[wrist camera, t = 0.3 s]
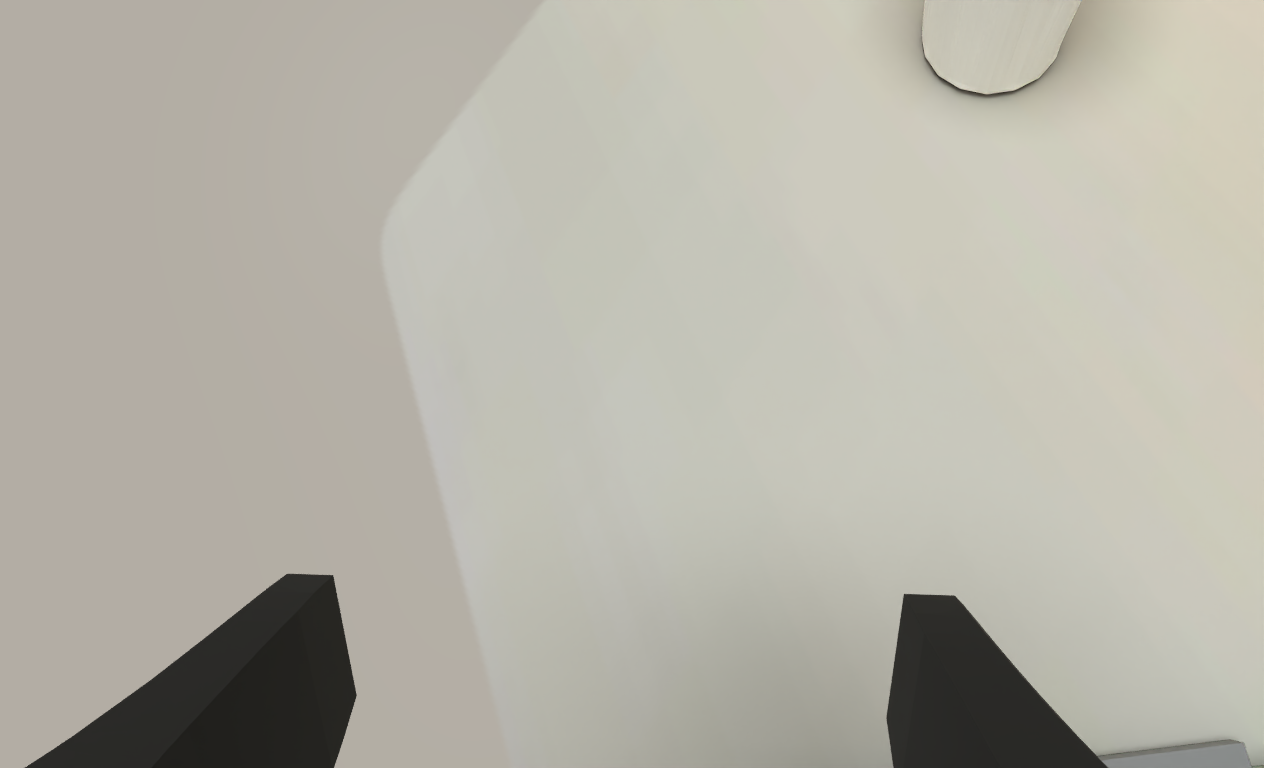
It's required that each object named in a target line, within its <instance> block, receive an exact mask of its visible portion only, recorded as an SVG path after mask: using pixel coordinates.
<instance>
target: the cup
mask: <svg viewBox="0 0 1264 768" xmlns="http://www.w3.org/2000/svg"><path fill="white" fill-rule="evenodd" d="M1081 1H1082V0H925V3H924V14H923V25H922V42H923V47H924V53H925V57H926V58H927V60H928V61H929V63H930V64H931V66H932V67H933V69H934V70H935V72H936V73H937V74H938V76H940V77H941V78H943V79H945V80H946V81H948V82H950V83H951V84H953V85H955V86H956V87H958V88H960V89H964V90H969V91H973V92H978V93H983V94H992V93H999V92H1006V91H1013V90H1016V89H1018V88H1020V87H1022V86H1024V85H1026V84H1028V83H1030V82H1032V81H1034V80H1036V79H1038V78H1039V77H1040V76H1041V75H1042V74H1043V73H1044V72H1045V71H1046V70H1047V68H1048V67H1049V66H1050V65H1051V64H1052V63H1053V61H1054V60H1055V59H1056V57H1057V54H1058V51H1059V48H1060V45H1061V43H1062V41H1063V39H1064V36H1065V34H1066V32H1067V30H1068V28H1069V26H1070V24H1071V22H1072V20H1073V18H1074V16H1075V13H1076V11H1077V9H1078V7H1079V5H1080V3H1081Z"/></svg>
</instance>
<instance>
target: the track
mask: <svg viewBox="0 0 1264 768" xmlns="http://www.w3.org/2000/svg"><path fill="white" fill-rule="evenodd" d="M1097 757H1098V758H1099V759H1100V760H1101V761H1102V762H1103V763H1104V764H1105V765H1106V766H1107V767H1108V768H1252V767H1251V763H1250V760H1249V757H1248V754H1247V751H1246V748H1245V744H1244V743H1243V742H1239V741H1234V740H1223V741H1215V742H1207V743H1199V744H1191V745H1183V746H1175V747H1167V748H1159V749H1151V750H1143V751H1135V752H1127V753H1119V754H1111V755H1103V756H1097Z"/></svg>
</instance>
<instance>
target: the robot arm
mask: <svg viewBox="0 0 1264 768" xmlns="http://www.w3.org/2000/svg"><path fill="white" fill-rule="evenodd" d="M355 699H356V691H355V685H354V680H353V675H352V670H351V664H350V659H349V654H348V649H347V644H346V639H345V634H344V629H343V624H342V618H341V613H340V608H339V603H338V598H337V593H336V588H335V583H334V577H333V575H308V574H307V575H306V574H286V575H285V576H284V577H282V578H281V579H280V580H278V581H277V582H276V583H274V584H273V585H271V586H270V587H269V588H268V589H266V590H265V591H264V592H262V593H261V594H260V595H258V596H257V597H256V598H255V599H254V600H252V601H251V602H250V603H249V604H247V605H246V606H245V607H243V608H242V609H241V610H240V611H238V612H237V613H236V614H235V615H233V616H232V617H231V618H230V619H228V620H227V621H226V622H225V623H223V624H222V625H221V626H220V627H218V628H217V629H216V630H214V631H213V632H212V633H211V634H210V635H208V636H207V637H206V638H204V639H203V640H202V641H200V642H199V643H198V644H197V645H195V646H194V647H193V648H191V649H190V650H189V651H188V652H186V653H185V654H184V655H183V656H181V657H180V658H179V659H178V660H176V661H175V662H174V663H172V664H171V665H170V666H168V667H167V668H166V669H165V670H163V671H162V672H161V673H159V674H158V675H157V676H156V677H154V678H153V679H152V680H150V681H149V682H148V683H146V684H145V685H143V686H142V687H141V688H139V689H138V690H136V691H135V692H134V693H132V694H131V695H130V696H128V697H127V698H125V699H124V700H123V701H121V702H120V703H118V704H117V705H116V706H114V707H113V708H111V709H110V710H109V711H107V712H106V713H104V714H103V715H102V716H100V717H99V718H98V719H96V720H95V721H93V722H92V723H91V724H89V725H88V726H86V727H85V728H84V729H82V730H81V731H80V732H78V733H77V734H75V735H74V736H72V737H71V738H69V739H68V740H66V741H65V742H64V743H62V744H60V745H59V746H57V747H56V748H55V749H53V750H51V751H50V752H49V753H47V754H45V755H44V756H42V757H41V758H39V759H38V760H36V761H35V762H33V763H31V764H30V765H28V766H27V767H25V768H334V766H335V763H336V760H337V757H338V754H339V751H340V748H341V745H342V742H343V739H344V736H345V732H346V729H347V726H348V722H349V719H350V715H351V712H352V709H353V706H354V702H355ZM887 725H888V732H889V739H890V746H891V753H892V760H893V766H894V768H1108V767H1107V766H1106V765H1105V764H1104V763H1103V762H1102V761H1101V760H1100V759H1099V758H1098V757H1097V756H1096V755H1095V754H1094V753H1093V752H1092V751H1091V750H1090V748H1089V747H1088V746H1087V745H1086V744H1085V743H1084V742H1083V741H1082V740H1081V739H1080V738H1079V737H1078V736H1077V735H1076V734H1075V733H1074V732H1073V731H1072V730H1071V728H1070V727H1069V726H1068V725H1067V724H1066V723H1065V722H1064V721H1063V720H1062V719H1061V718H1060V716H1059V715H1058V714H1057V713H1056V712H1055V711H1054V710H1053V709H1052V708H1051V707H1050V706H1049V704H1048V703H1047V702H1046V701H1045V700H1044V699H1043V698H1042V697H1041V696H1040V695H1039V693H1038V692H1037V691H1036V690H1035V689H1034V688H1033V687H1032V686H1031V684H1030V683H1029V682H1028V681H1027V680H1026V679H1025V678H1024V676H1023V675H1022V674H1021V673H1020V672H1019V671H1018V669H1017V668H1016V667H1015V666H1014V665H1013V664H1012V662H1011V661H1010V660H1009V659H1008V658H1007V657H1006V655H1005V654H1004V653H1003V652H1002V651H1001V649H1000V648H999V647H998V646H997V645H996V644H995V642H994V641H993V640H992V639H991V638H990V636H989V635H988V634H987V633H986V632H985V630H984V629H983V628H982V627H981V625H980V624H979V623H978V622H977V621H976V619H975V618H974V617H973V616H972V615H971V613H970V612H969V611H968V610H967V609H966V607H965V606H964V605H963V604H962V603H961V602H960V601H959V600H958V599H957V597H956V596H948V595H918V594H904V598H903V605H902V612H901V619H900V626H899V633H898V640H897V647H896V654H895V661H894V668H893V676H892V683H891V690H890V697H889V704H888V711H887Z"/></svg>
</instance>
